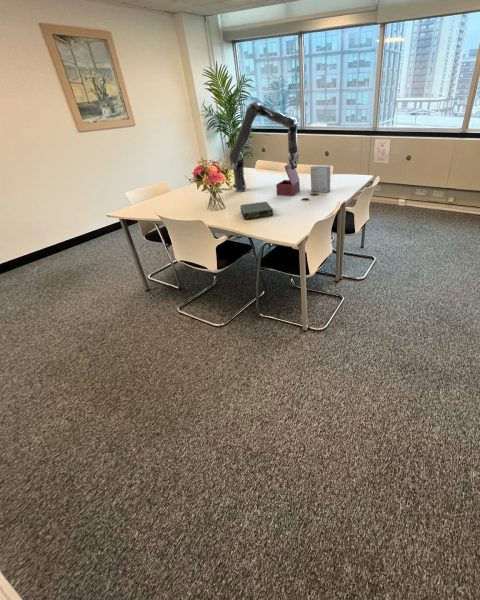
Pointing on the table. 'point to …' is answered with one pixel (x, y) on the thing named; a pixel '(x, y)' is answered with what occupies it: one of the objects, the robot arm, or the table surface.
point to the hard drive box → (320, 178)
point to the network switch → (256, 210)
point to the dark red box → (287, 188)
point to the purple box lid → (292, 174)
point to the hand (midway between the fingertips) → (294, 168)
